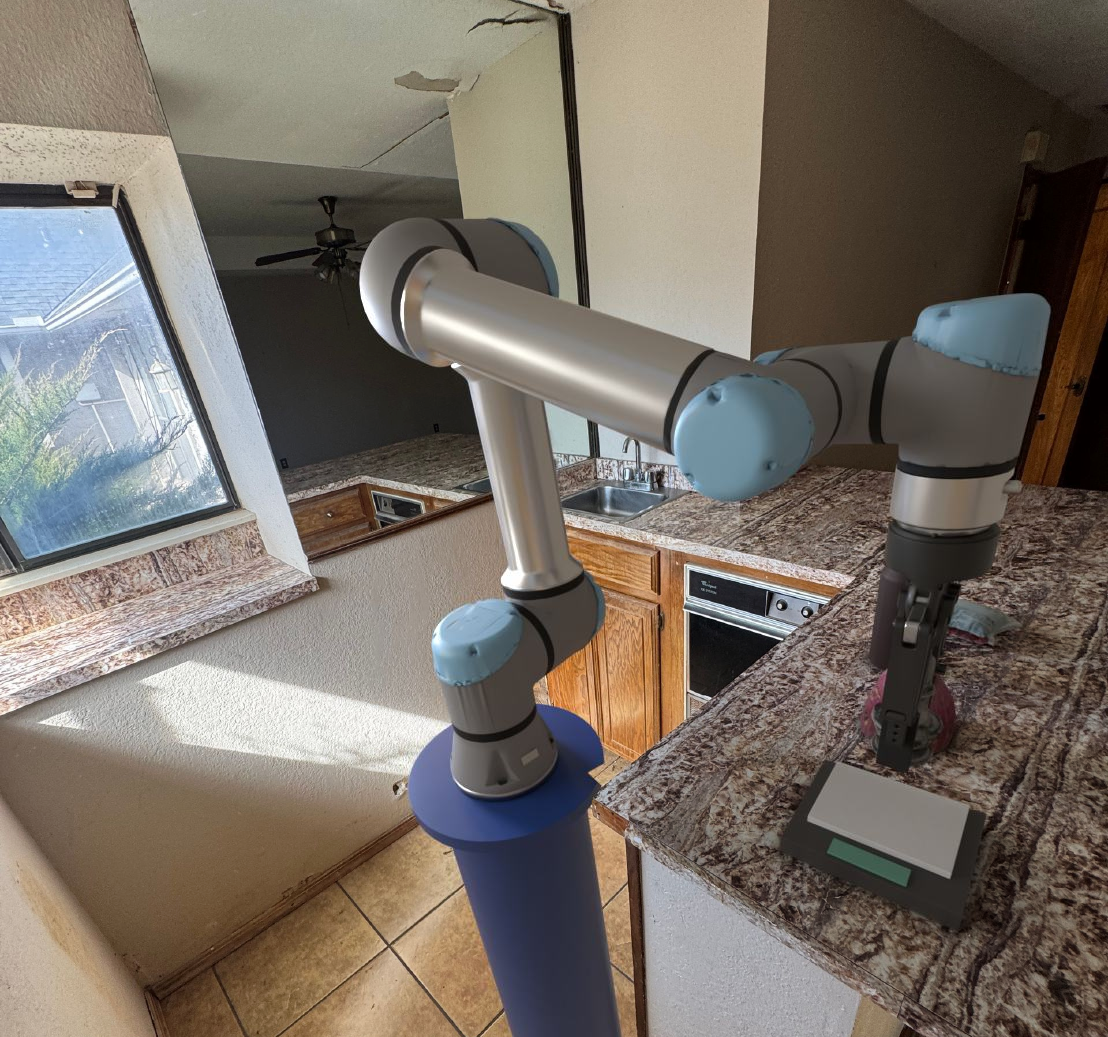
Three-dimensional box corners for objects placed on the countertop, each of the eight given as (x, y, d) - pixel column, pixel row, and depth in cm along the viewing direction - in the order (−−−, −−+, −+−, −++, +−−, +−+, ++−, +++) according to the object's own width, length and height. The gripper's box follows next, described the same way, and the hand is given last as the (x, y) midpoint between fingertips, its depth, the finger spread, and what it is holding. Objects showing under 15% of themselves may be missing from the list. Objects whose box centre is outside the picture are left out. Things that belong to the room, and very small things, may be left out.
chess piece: (949, 749, 55) (975, 643, 49) (914, 777, 53) (937, 669, 47) (889, 721, 60) (906, 620, 54) (854, 746, 57) (868, 643, 52)
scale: (779, 851, 61) (781, 831, 60) (823, 772, 70) (825, 754, 69) (957, 931, 51) (964, 910, 50) (982, 828, 60) (988, 808, 59)
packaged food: (941, 610, 98) (946, 585, 96) (1020, 635, 89) (1028, 607, 87) (910, 628, 95) (915, 602, 93) (989, 656, 86) (996, 628, 83)
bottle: (908, 649, 90) (929, 528, 81) (927, 672, 84) (953, 546, 75) (861, 651, 91) (878, 533, 82) (877, 675, 85) (897, 550, 76)
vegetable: (943, 780, 70) (991, 707, 60) (851, 752, 75) (881, 679, 64) (949, 715, 76) (993, 639, 66) (864, 693, 81) (893, 617, 70)
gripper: (982, 572, 37) (923, 825, 48) (1017, 488, 49) (963, 706, 60) (856, 556, 41) (828, 791, 52) (916, 484, 53) (884, 687, 64)
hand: (900, 745), depth 56 cm, fingers closed on chess piece, 6 cm apart
